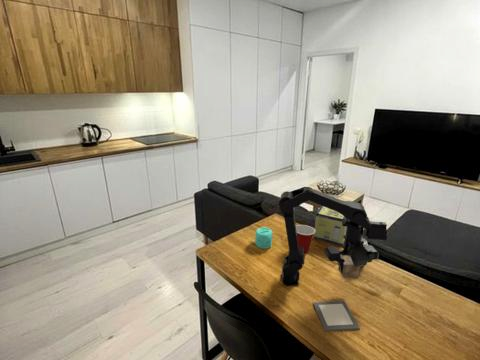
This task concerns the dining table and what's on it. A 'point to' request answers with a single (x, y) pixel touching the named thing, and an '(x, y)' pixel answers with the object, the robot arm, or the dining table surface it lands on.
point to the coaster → (335, 316)
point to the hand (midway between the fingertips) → (348, 271)
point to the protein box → (329, 226)
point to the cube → (349, 269)
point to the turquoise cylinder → (263, 238)
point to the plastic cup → (304, 236)
